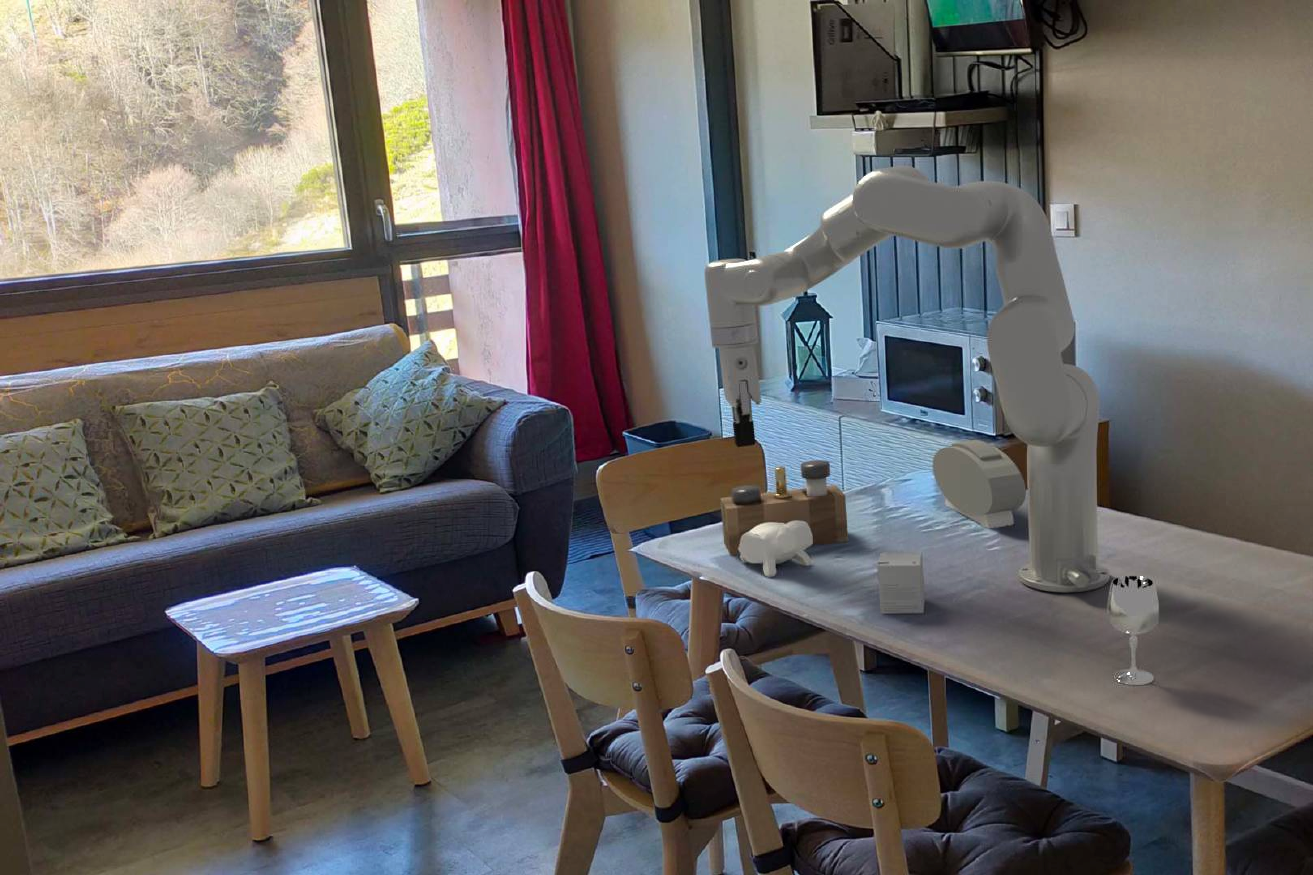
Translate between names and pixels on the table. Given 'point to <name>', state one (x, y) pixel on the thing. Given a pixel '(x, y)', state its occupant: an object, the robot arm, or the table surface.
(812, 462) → the knob
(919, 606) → the skincare box
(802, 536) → the white piece
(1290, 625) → the table surface
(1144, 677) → the wineglass
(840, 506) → the walnut mount
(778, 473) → the brass door knob
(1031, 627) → the table surface
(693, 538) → the table surface
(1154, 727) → the table surface
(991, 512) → the alarm clock
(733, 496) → the dark grey rounded lump
